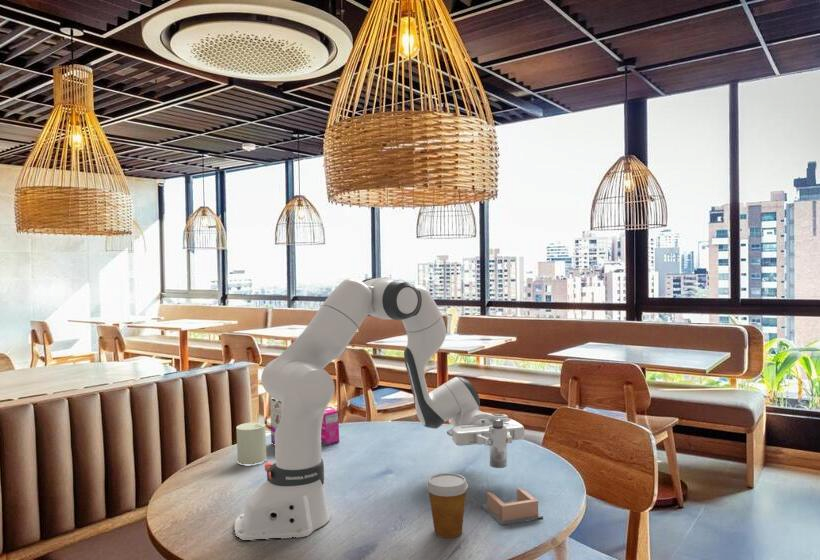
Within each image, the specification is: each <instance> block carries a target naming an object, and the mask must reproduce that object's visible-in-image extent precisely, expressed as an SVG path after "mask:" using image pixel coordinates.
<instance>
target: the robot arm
mask: <svg viewBox="0 0 820 560" xmlns="http://www.w3.org/2000/svg"><path fill="white" fill-rule="evenodd" d="M367 317H374V318H378V319H380V320H394V321H401V322H402V324H403V327H404V330H405V332H406V335H407V343H406V344H407V345H406V347H405V348H404V349H405V350H404V351H403V355H404V357H403V359H404V364H405V368H406V372H407V377H408V381H409V384H410V388H411V393H412V396H413V401H414V407H415V412H416V417H417V419H418V420H419V422H420V423H421V424H422V426H424V427H425V428H427V429H439V428H440V427H441V426H443V425H444V424H445V423H446V422H447V421H449V423H450V424H451V426H452V428H450V429H448V430H447V431H446V434H447V436H450V437H451V440H452V442H453V444H455V445H456V446H458V447H459V446H460V447H463V446H472V445H484V446H486V447H488V446H490V445H492V443H491V442H492V440H491V438H489V427H490V426H492V420H493V419H503V426H505V427H506V430H507V444H512V443H513V441H522V440H523V439H525V427H524V425H523V424H521V422H519V421H517V420H515V419H512V418H509V416H508V415H507V414H504V413H503V414H502V413H490V412H486V411H481V410H480V405H481V402H480V401H481V400H480V396H479V394H478V391H477V389H476V387H475V386H474V385H473V384H472V382H470V381H469V379H466V378H464V377H462V376H455V377H453V378H451V379H449V380H448V381H446V382H444V383H442V384H441V385H440V386H438V387H436V388H434V389H433V390H431V391H429V390H428V386H427V382H426V377H425V369H426V366H427V364H428V363H429V361H430V360H431V359H432V357H433V356H434V355H435V354H436V353H437V352H438V350H439V349H440V348H441V347H442V345H443V344H444V342H445V339H446V337H447V327H446V323H445V321H444V318H443V316H442V313H441V311H440V309H439V306H438V305H437V303H436V301H435V300H434V298H433V297H432V295H431V293H430V291H428V289H427V288H426V287H425V286H423V285H421V284H412V283H411V282H409V281H408V280H404V279H401V278H399V279H394V278H390V277H370V278H366V279H363V280H360V279H357V278H347V279H344V280H343V281H341V282H340V283H339V284H338V285H337V286H336V287H335V288H334V290H333V291H331V293H330V294H328V297H326V299H324V302H323V303H322V305H321V306H320V307H319V309H318V310H317V312H316V313H315V314H314V316H313V318H312V319H311V321H310V322H309V323H308V324H307V326H306V327H305V328H304V330H303V331H302V332H301V333H300V335H299V336H297V338H296V339H295V340H293V342H292V343H291V344H290V345H289V346H288V347H286V348H285V350H284V351H283V352H282V353H280V354H279V355H278V357H276V358H274V359H272V360H270V362H268V363H267V364H266V365H265V366H264V368H263V370H262V373H261V379H260V380H261V384H262V387H263V388H264V391H266V393H267V394H268V395H269V396H270V398H274V399H276V400H278V401H280V402H281V403H282V414H281V419H280V423H279V426H278V428H277V429H276V431H275V445H274V456H275V458H274V461H275V462H274V463H272V462H271V461H266V462H265V463H264V470H265V472H266V479H267V480H265V482H263V484H261V485H260V486H259V487H258V488H257V489H255V490H254V491H253V492H251V493H250V494H249V495H248V498H247V499H246V502H245V505H244V508H243V509H244V510H243V513H241V514H240V515H238V517H237V518H236V519H235V521H234V528H233V531H234V530H235V532H234V535H235V534H236V535H237V537H239V538H240V539H242V540H250V539H266V540H268V539H267V538H281V539H291V538H292V537H294V538H295V537H296V538H305V536H306V537H308V536H309V535H311V534H312V533H313V532H314V531H315V530H317V529H320V528H321V527H323V526H325V525H326V524H327V523H328V522H329V521H330V519H331V514H330V511H329V508H328V505H327V501H326V495H325V486H324V484H325V464H324V460H323V458H322V444H321V427H322V421H323V416H324V412H325V409H327V406H328V405H329V404H330V402H331V401H332V400H333V398H334V396H335V395H334V394H335V389H336V388H335V381H334V379H333V377H332V376H331V374H330V373H329V372H328V371H327V370H326V369H324V368H325V367H327V366H328V365H329V364H330V363H331V362H332V361H334V360H336V359H338V358H339V357H341V355H342V354H344V351H345V350H346V348H347V347H348V346H349V344H350V342H351V341H352V339H353V338H354V336H355V335H356V333H357V331H358V330H359V328H360V327H361V325H362V323H363V322H364V320H365V319H366V318H367ZM236 535H235V536H236ZM237 537H236V538H237ZM296 538H295V539H296ZM240 539H239V540H240ZM292 539H293V538H292ZM242 540H241V541H242Z"/></svg>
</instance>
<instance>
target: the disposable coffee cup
mask: <svg viewBox="0 0 820 560" xmlns="http://www.w3.org/2000/svg"><path fill="white" fill-rule="evenodd" d="M426 488H427V489H426V490H427V491H428V495H429V502H430V509H431V516H432V522H433V530H434V534H436V536H438V537H441V538H447V539H452V538H456V537H459V536H460V535H462V534H463V528H464V527H463V524H464V515H465V505H466V497H467V496H466V495H467V491H468V490H467V489H468V488H469V485H468V482H467V479H466V477H465V476H463V475H461V474H459V473H453V472H443V473H442V472H441V473H437V474H433V475H431V476H430V477H428V479H427V483H426Z"/></svg>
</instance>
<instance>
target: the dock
mask: <svg viewBox="0 0 820 560" xmlns="http://www.w3.org/2000/svg"><path fill="white" fill-rule="evenodd" d="M486 502H487V503H484V504H482V505H481V507H482V508H483V509H484V510H485V511H486V513H488V514H489V515H490V516H491V517H492V518H493V519H494V520H495V521H496V522H497V523H498V524H499V525H500V526H505V525H511V524H517V523H522V521H524V522H528V521H527V520H530V521H534V520H533V519H536V520H539V519H538V518H542V519H544V515H542V514H541V513H540V512H539V500H538V499H536V498H535V497H534V496H532V495H531V494H530V493H529V492H527V491H526V490H525V489H524V488H523V487H517V488H516V499H512V500H511V499H509V500H504V501H502V500H501V498H499V497H498V496H497V495H495V493H494V492H493V491H489V492H486Z"/></svg>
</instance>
